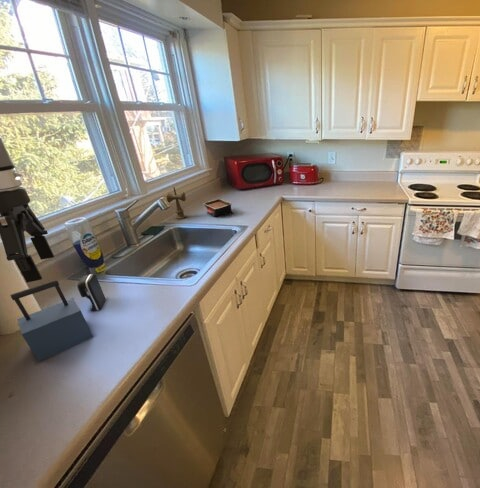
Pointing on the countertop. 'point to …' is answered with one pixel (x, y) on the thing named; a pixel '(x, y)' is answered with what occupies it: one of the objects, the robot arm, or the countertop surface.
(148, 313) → the countertop surface
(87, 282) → the battery charger
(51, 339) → the handled carry box
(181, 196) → the kendama
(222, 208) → the square planter pot
